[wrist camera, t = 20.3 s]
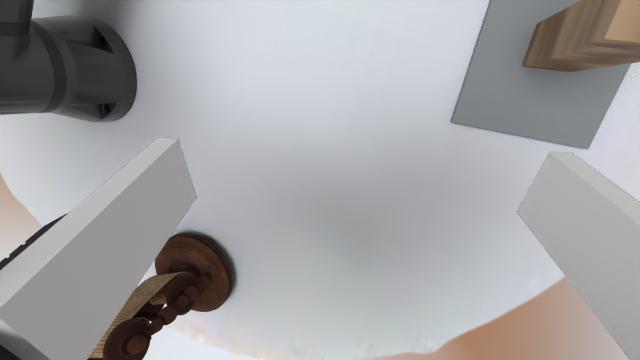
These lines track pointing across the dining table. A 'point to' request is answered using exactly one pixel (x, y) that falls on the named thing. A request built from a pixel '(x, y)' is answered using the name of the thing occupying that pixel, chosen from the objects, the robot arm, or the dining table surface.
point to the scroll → (167, 296)
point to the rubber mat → (531, 82)
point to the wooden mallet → (587, 37)
